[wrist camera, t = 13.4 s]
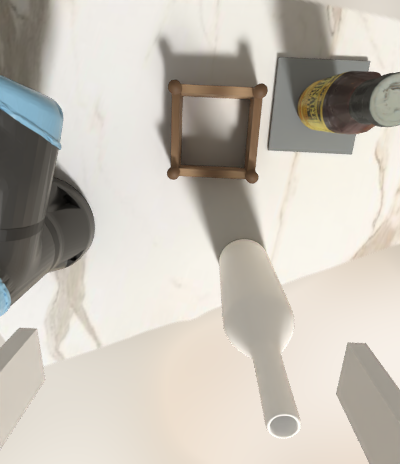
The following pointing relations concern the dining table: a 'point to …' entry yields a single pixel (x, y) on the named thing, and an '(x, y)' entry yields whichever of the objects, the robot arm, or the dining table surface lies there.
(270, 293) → the bottle
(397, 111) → the sauce bottle
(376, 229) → the dining table surface
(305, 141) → the mat
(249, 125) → the corner post wooden tray
